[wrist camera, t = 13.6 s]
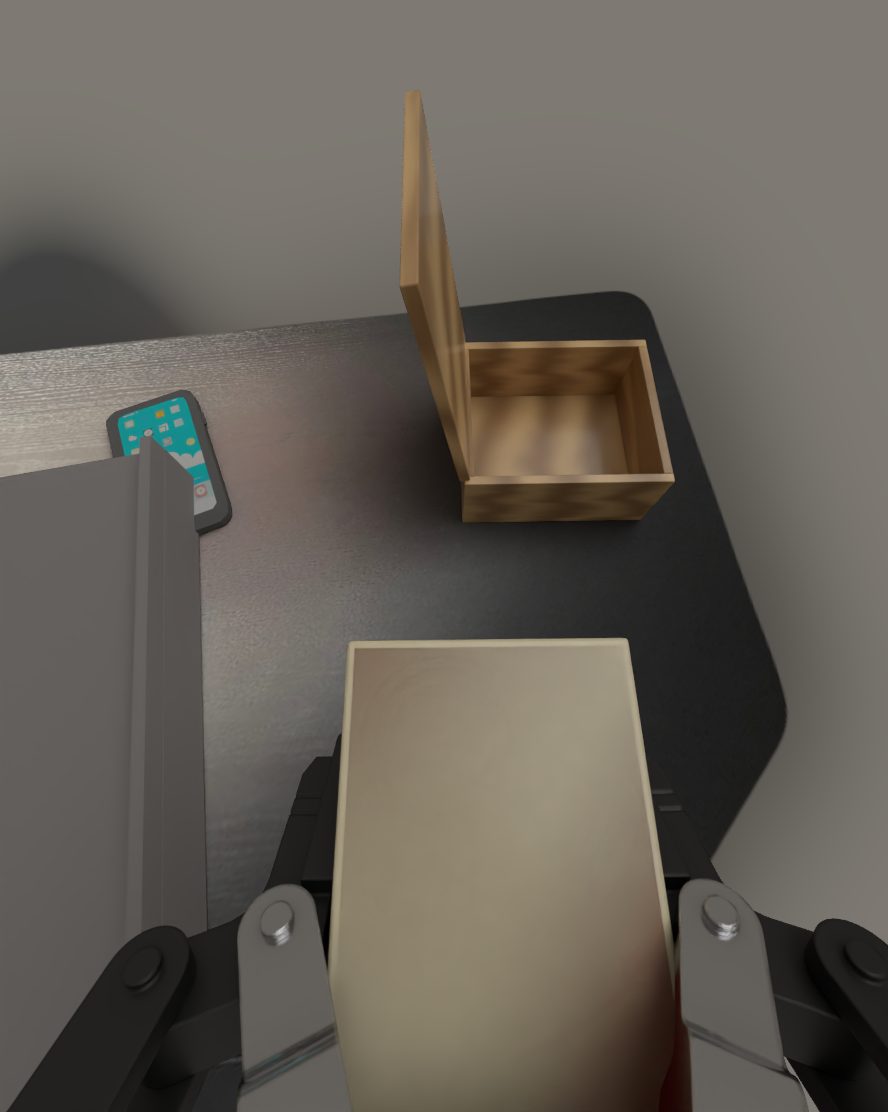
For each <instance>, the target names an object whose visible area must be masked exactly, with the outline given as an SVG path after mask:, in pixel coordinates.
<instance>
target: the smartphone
mask: <svg viewBox="0 0 888 1112" xmlns="http://www.w3.org/2000/svg"><path fill="white" fill-rule="evenodd" d="M206 426H207V423H206V420H205V417H204V414H203V413H202V412H201V408H200V406H199V403H198V401H197V400H196V398H195V397H194V396H193V394H192V393H191V392H190V391H187V390H179V391H176V392H173V393H170V394H167V395H164V396H161V397H158V398H155V399H152V400H149V401H146V402H143V403H140V404H137V405H134V406H131V407H128V408H125V409H122V410H119V411H116V412H114V413H113V414H112V415H111V416H110V417H109V418H108V419H107V421H106V427H107V431H108V435H109V440H110V444H111V449H112V453H113V457H114V458H116V457H122V456H128V455H134V454H139V446H140V437H145V436H152V437H153V438H154V439H155V440H156V441H157V442H158V443H159V444H160V445H161V446H162V447H163V448H164V449H165V450H166V451H167V452H168V453H169V454H170V455H171V456H173V457H174V458H175V459H176V460H177V461H178V462H179V463H180V464H181V465H182V466H183V467H184V468H185V469H186V470H187V471H188V472H189V473H190V474H191V475H192V476H193V477H194V524H195V531H196V532H197V533H198V534H199V535H200V534H202V533H205V532H208V531H210V530H213V529H216V528H218V527H221V526H224V525H225V524H226V523H227V522H228V521H229V520H230V518H231V517H232V508H231V503H230V500H229V497H228V494H227V491H226V487H225V484H224V481H223V478H222V475H221V472H220V469H219V465H218V462H217V459H216V456H215V453H214V450H213V446H212V443H211V440H210V437H209V434H208V431H207V427H206Z"/></svg>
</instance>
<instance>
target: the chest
mask: <svg viewBox="0 0 888 1112" xmlns="http://www.w3.org/2000/svg"><path fill="white" fill-rule="evenodd" d="M465 351H466V378H467V405H468V432H469V459H470V480H469V481H461V499H462V523H470V522H536V521H602V520H641V519H642V517H643V516H644V515H645V514H646V513H647V512H648V511H649V510H650V508H651V507H652V506H653V505H654V504H655V503H656V502H657V501H658V500H659V499H660V497H661V496H662V495H663V494H664V493H665V492H666V491H667V490H668V489H669V487H670V486H671V485H672V484H673V483H674V482H675V479H674V474H673V470H672V465H671V460H670V456H669V451H668V446H667V441H666V436H665V432H664V427H663V422H662V417H661V413H660V408H659V403H658V398H657V394H656V389H655V384H654V379H653V375H652V370H651V365H650V360H649V355H648V351H647V347H646V341H645V340H602V341H540V342H478V343H465Z"/></svg>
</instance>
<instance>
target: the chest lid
mask: <svg viewBox="0 0 888 1112" xmlns="http://www.w3.org/2000/svg"><path fill="white" fill-rule="evenodd" d="M404 111H405V112H404V145H403V146H404V147H403V182H402V219H401V255H400V256H401V258H400V290H401V293H402V296H403V300H404V303H405V306H406V309H407V313H408V316H409V319H410V322H411V325H412V329H413V332H414V335H415V338H416V342H417V345H418V348H419V351H420V355H421V358H422V361H423V364H424V368H425V371H426V374H427V377H428V381H429V384H430V387H431V390H432V394H433V397H434V400H435V403H436V407H437V410H438V413H439V416H440V420H441V423H442V426H443V429H444V432H445V436H446V439H447V442H448V445H449V449H450V452H451V455H452V458H453V462H454V465H455V468H456V471H457V475H458V478H459V481H469V480H470V459H469V432H468V405H467V378H466V351H465V335H464V329H463V324H462V318H461V313H460V307H459V302H458V296H457V291H456V285H455V280H454V275H453V269H452V264H451V258H450V253H449V247H448V241H447V236H446V231H445V225H444V220H443V214H442V208H441V203H440V198H439V192H438V187H437V181H436V176H435V170H434V165H433V159H432V154H431V148H430V143H429V138H428V132H427V126H426V121H425V115H424V110H423V104H422V99H421V94H420V90H415V91H411V92H406V93H405V109H404Z"/></svg>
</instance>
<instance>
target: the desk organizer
mask: <svg viewBox="0 0 888 1112" xmlns="http://www.w3.org/2000/svg"><path fill="white" fill-rule="evenodd" d="M164 925H168V926H174V927H177V928H179V929H180V930H182V931H183V932H184V934H185V935H186V937H187V938H188V937H191V936H194V935H196V934H199V933H202V932H204V931H207V901H206V854H205V807H204V760H203V713H202V666H201V619H200V572H199V534H198V533H197V532H196V531H195V524H194V477H193V476H192V475H191V474H190V473H189V472H188V471H187V470H186V469H185V468H184V467H183V466H182V465H181V464H180V463H179V462H178V461H177V460H176V459H175V458H174V457H173V456H171V455H170V454H169V453H168V452H167V451H166V450H165V449H164V448H163V447H162V446H161V445H160V444H159V443H158V442H157V441H156V440H155V439H154V438H153V437H152V436H145V437H140V446H139V454H134V455H128V456H122V457H116V458H111V459H105V460H99V461H93V462H88V463H82V464H76V465H70V466H64V467H59V468H53V469H47V470H41V471H36V472H30V473H24V474H18V475H12V476H7V477H1V478H0V1112H7V1110H8V1109H9V1108H10V1106H11V1105H12V1103H13V1102H14V1100H15V1099H16V1097H17V1096H18V1094H19V1093H20V1092H21V1090H22V1089H23V1087H24V1086H25V1084H26V1083H27V1081H28V1080H29V1078H30V1077H31V1076H32V1074H33V1073H34V1071H35V1070H36V1068H37V1067H38V1065H39V1064H40V1062H41V1061H42V1059H43V1058H44V1057H45V1055H46V1054H47V1052H48V1051H49V1049H50V1048H51V1046H52V1045H53V1043H54V1042H55V1041H56V1039H57V1038H58V1036H59V1035H60V1033H61V1032H62V1030H63V1029H64V1027H65V1026H66V1025H67V1023H68V1022H69V1020H70V1019H71V1017H72V1016H73V1014H74V1013H75V1011H76V1010H77V1009H78V1007H79V1006H80V1004H81V1003H82V1001H83V1000H84V998H85V997H86V995H87V994H88V993H89V991H90V990H91V988H92V987H93V985H94V984H95V982H96V981H97V979H98V978H99V977H100V975H101V974H102V972H103V971H104V969H105V968H106V966H107V965H108V963H109V962H110V961H111V959H112V958H113V957H114V956H115V954H116V953H117V952H118V951H119V950H120V949H121V948H122V947H123V946H124V945H125V944H126V943H127V942H129V941H130V940H131V939H133V938H134V937H135V936H137V935H139V934H140V933H142V932H144V931H146V930H148V929H151V928H154V927H157V926H164Z"/></svg>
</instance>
